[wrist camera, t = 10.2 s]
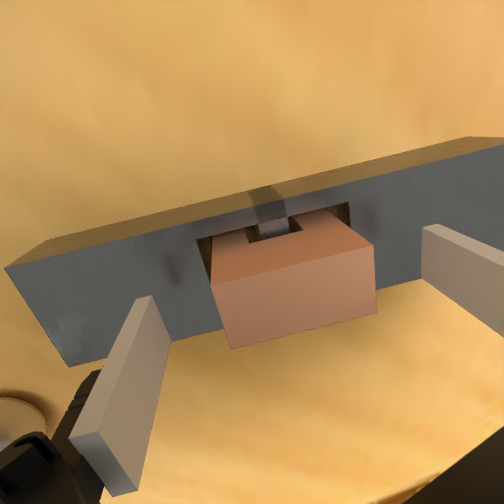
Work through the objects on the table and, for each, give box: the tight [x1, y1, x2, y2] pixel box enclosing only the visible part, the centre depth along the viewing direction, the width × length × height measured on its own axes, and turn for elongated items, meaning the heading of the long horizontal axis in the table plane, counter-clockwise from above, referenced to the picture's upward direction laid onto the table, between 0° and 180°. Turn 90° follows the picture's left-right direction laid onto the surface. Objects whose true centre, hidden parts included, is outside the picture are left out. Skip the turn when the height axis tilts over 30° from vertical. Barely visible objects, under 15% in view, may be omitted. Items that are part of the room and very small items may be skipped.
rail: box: [4, 137, 504, 367], centre depth 18 cm, size 28×7×4 cm, turn 103°
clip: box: [210, 208, 377, 349], centre depth 16 cm, size 7×4×8 cm, turn 103°
